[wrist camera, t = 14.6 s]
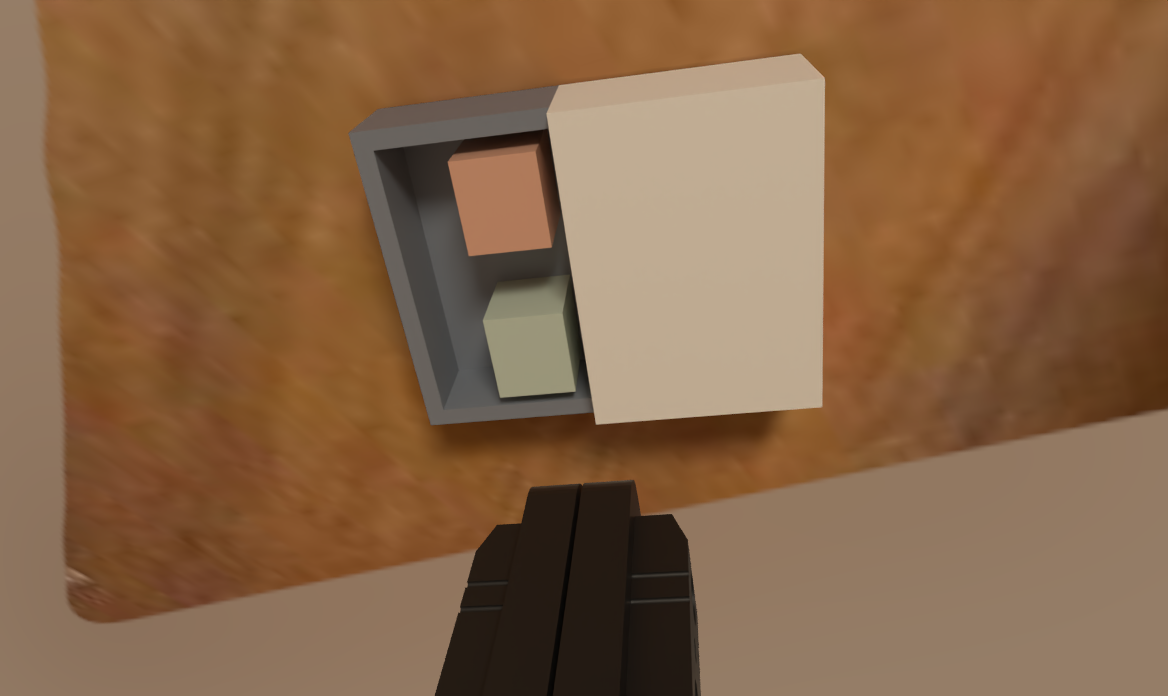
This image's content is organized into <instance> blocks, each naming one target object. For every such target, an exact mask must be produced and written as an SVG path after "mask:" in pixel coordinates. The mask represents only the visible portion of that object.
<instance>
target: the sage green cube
mask: <svg viewBox="0 0 1168 696" xmlns="http://www.w3.org/2000/svg"><path fill="white" fill-rule="evenodd" d="M483 324H484V328H485V333H486V337H487V342H488V346H489V350H490V355H491V359H492V364H493V368H494V373H495V377H496V381H497V386H498V390H499V395H500V398H503V397H516V396H528V395H540V394H552V393H564V392H576V385H577V378H578V371H579V363H580V356H581V349H582V347H581V341H580V335H579V329H578V322H577V316H576V310H575V304H574V297H573V291H572V285H571V279H570V275H560V276H550V277H540V278H530V279H520V280H511V281H501V282H497V284H496V287H495V290H494V292H493V295H492V298H491V300H490V303H489V306H488V308H487V311H486V314H485V316H484V319H483Z"/></svg>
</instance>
